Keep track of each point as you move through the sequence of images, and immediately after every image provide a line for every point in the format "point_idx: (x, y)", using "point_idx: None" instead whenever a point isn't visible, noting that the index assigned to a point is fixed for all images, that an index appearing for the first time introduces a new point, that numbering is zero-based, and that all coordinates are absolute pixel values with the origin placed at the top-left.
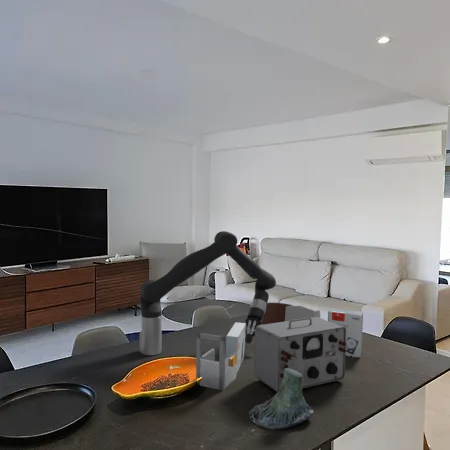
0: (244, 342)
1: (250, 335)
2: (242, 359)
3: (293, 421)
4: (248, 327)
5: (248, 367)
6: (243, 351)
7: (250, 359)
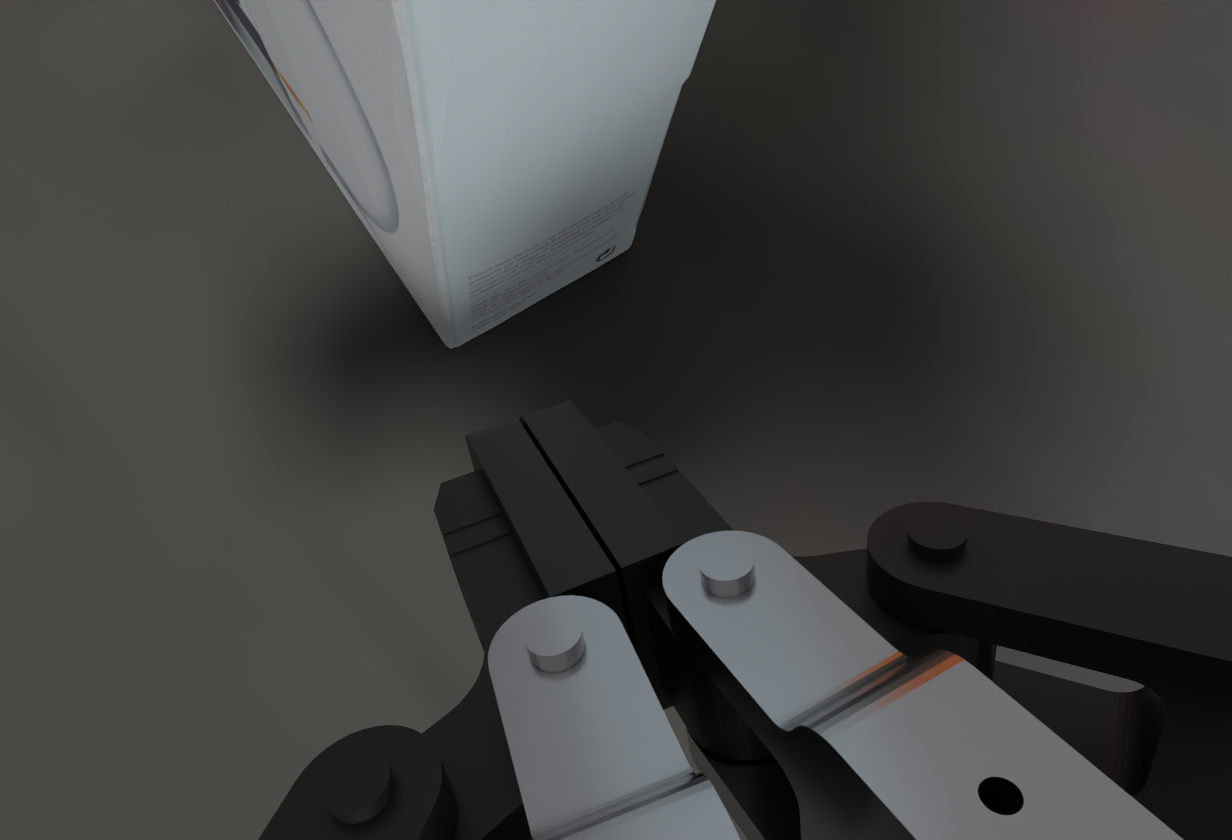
0: (320, 29)
1: (536, 570)
2: (315, 148)
3: None
4: (950, 719)
5: (10, 5)
6: (301, 88)
7: (247, 335)
